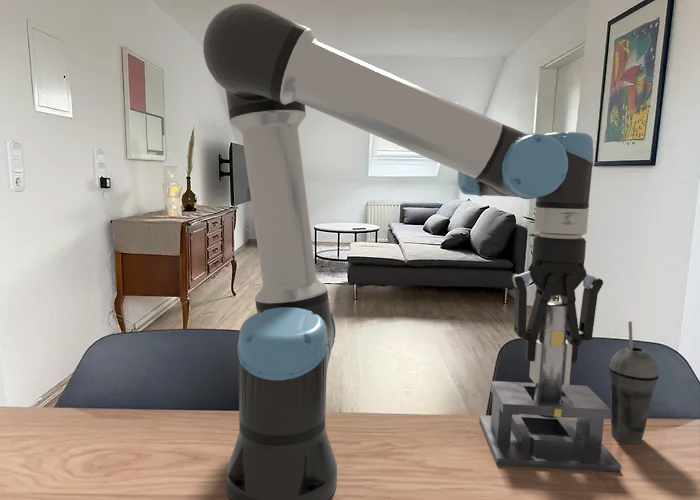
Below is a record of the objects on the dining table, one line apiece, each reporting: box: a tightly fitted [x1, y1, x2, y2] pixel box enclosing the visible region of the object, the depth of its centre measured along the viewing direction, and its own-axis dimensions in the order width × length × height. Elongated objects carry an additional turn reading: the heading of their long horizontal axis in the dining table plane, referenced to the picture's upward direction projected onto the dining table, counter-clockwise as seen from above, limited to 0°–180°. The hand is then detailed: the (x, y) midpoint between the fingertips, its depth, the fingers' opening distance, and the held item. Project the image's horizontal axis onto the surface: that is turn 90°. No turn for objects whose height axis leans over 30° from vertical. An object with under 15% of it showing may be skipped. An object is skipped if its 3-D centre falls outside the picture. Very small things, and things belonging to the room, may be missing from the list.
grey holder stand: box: [478, 380, 622, 473], centre depth 80 cm, size 18×14×8 cm
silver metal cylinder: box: [533, 300, 568, 418], centre depth 78 cm, size 4×4×18 cm
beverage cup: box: [608, 321, 660, 445], centre depth 82 cm, size 7×7×20 cm
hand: (548, 380), depth 79 cm, fingers closed on silver metal cylinder, 4 cm apart
